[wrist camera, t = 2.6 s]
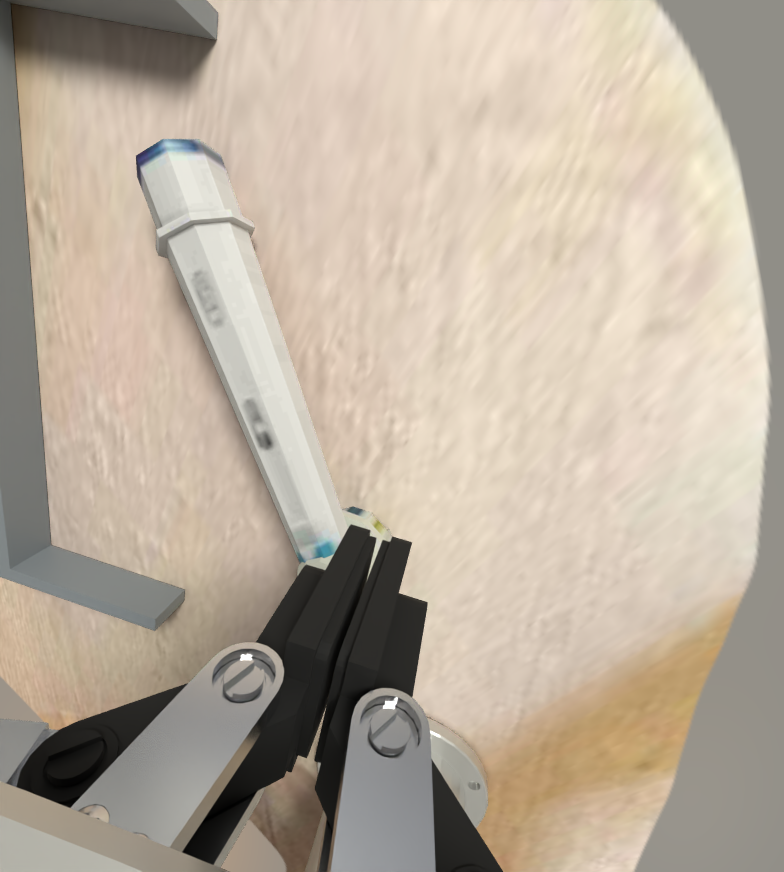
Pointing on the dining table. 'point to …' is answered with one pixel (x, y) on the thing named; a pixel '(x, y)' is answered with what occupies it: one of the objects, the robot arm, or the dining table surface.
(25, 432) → the bay
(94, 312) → the dining table surface
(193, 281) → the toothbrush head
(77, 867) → the robot arm
